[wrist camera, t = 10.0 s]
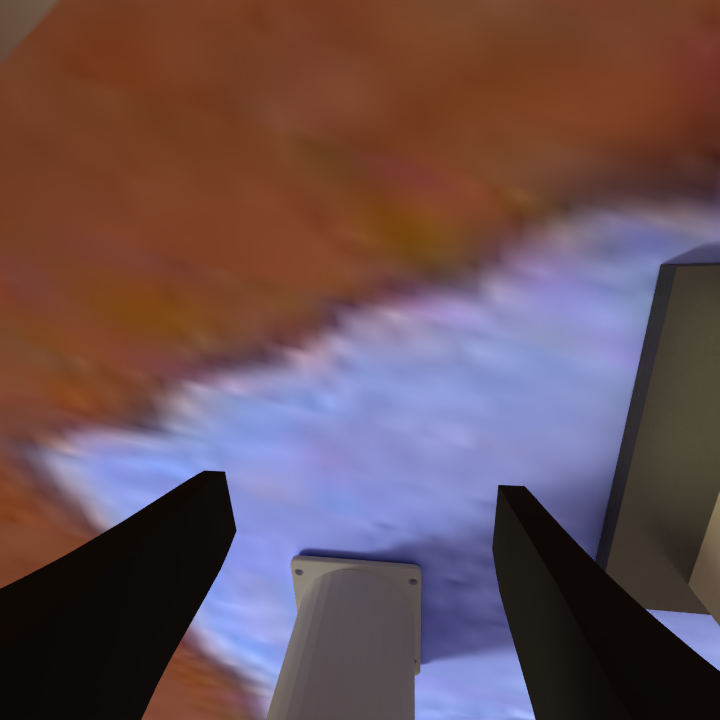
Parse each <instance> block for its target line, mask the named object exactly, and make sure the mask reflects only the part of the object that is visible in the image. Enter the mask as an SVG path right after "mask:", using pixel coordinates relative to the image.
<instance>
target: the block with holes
mask: <svg viewBox="0 0 720 720" xmlns="http://www.w3.org/2000/svg"><path fill="white" fill-rule="evenodd" d="M688 585H689V587H690V588H691V589H692V591H693V592H694V593H695V595H696V596H697V597H698V599H699V600H700V601H701V602H702V604H703V605H704V606H705V608H706V609H707V610H708V612H709V613H710V614H711V616H712V617H713V618H714V619H715V621H716V622H717V623H718V625H719V626H720V492H719V495H718V498H717V501H716V504H715V507H714V510H713V513H712V516H711V519H710V522H709V525H708V528H707V531H706V534H705V536H704V539H703V542H702V545H701V548H700V551H699V554H698V557H697V560H696V563H695V566H694V569H693V572H692V575H691V578H690V581H689V584H688Z"/></svg>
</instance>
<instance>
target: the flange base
mask: <svg viewBox="0 0 720 720" xmlns="http://www.w3.org/2000/svg"><path fill="white" fill-rule="evenodd" d="M719 492H720V263H691V264H661V266H660V271H659V275H658V280H657V284H656V289H655V294H654V298H653V303H652V307H651V312H650V316H649V321H648V325H647V330H646V335H645V339H644V344H643V348H642V353H641V357H640V362H639V366H638V371H637V375H636V380H635V385H634V389H633V394H632V398H631V403H630V407H629V412H628V416H627V421H626V426H625V430H624V435H623V439H622V444H621V448H620V453H619V457H618V462H617V466H616V471H615V476H614V480H613V485H612V489H611V494H610V498H609V503H608V507H607V512H606V517H605V521H604V526H603V530H602V535H601V539H600V544H599V548H598V553H597V558H596V563H597V564H598V565H599V566H600V567H601V568H602V569H603V570H604V571H605V572H606V573H607V574H608V575H609V576H610V577H611V578H612V579H613V580H614V581H615V582H616V583H617V584H618V585H620V586H621V587H622V588H623V589H624V590H625V591H626V592H627V593H628V594H629V595H630V596H631V597H632V598H633V599H635V600H636V601H637V602H638V603H639V604H640V605H641V606H642V607H643V608H644V609H652V610H663V611H674V612H685V613H697V614H708V615H711V614H710V613H709V612H708V610H707V609H706V608H705V606H704V605H703V604H702V602H701V601H700V600H699V599H698V597H697V596H696V595H695V593H694V592H693V591H692V589H691V588H690V587H689V585H688V584H689V581H690V578H691V575H692V572H693V569H694V566H695V563H696V560H697V557H698V554H699V551H700V548H701V545H702V542H703V539H704V536H705V534H706V531H707V528H708V525H709V522H710V519H711V516H712V513H713V510H714V507H715V504H716V501H717V498H718V495H719Z"/></svg>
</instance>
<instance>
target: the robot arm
mask: <svg viewBox="0 0 720 720" xmlns="http://www.w3.org/2000/svg"><path fill="white" fill-rule="evenodd" d="M235 533H236V526H235V521H234V516H233V511H232V506H231V501H230V495H229V490H228V485H227V480H226V475H225V472H221V471H203V472H201V473H199V474H197V475H196V476H194V477H192V478H190V479H189V480H187V481H186V482H184V483H182V484H181V485H179V486H178V487H176V488H175V489H173V490H171V491H170V492H168V493H167V494H165V495H164V496H162V497H160V498H159V499H157V500H156V501H154V502H153V503H151V504H150V505H148V506H146V507H145V508H143V509H142V510H140V511H139V512H137V513H135V514H134V515H132V516H131V517H129V518H128V519H126V520H124V521H123V522H121V523H119V524H118V525H116V526H114V527H113V528H111V529H109V530H108V531H106V532H104V533H103V534H101V535H99V536H98V537H96V538H94V539H93V540H91V541H89V542H87V543H86V544H84V545H82V546H81V547H79V548H77V549H76V550H74V551H72V552H70V553H68V554H67V555H65V556H63V557H61V558H59V559H58V560H56V561H54V562H52V563H50V564H48V565H46V566H44V567H42V568H41V569H39V570H37V571H35V572H33V573H31V574H29V575H27V576H25V577H23V578H21V579H19V580H17V581H15V582H13V583H11V584H9V585H7V586H5V587H3V588H1V589H0V720H141V719H142V717H143V714H144V712H145V710H146V708H147V706H148V704H149V701H150V699H151V697H152V695H153V693H154V691H155V688H156V686H157V684H158V682H159V680H160V678H161V676H162V674H163V672H164V671H165V669H166V667H167V665H168V663H169V661H170V659H171V657H172V655H173V654H174V652H175V650H176V648H177V647H178V645H179V643H180V641H181V639H182V638H183V636H184V634H185V632H186V631H187V629H188V627H189V625H190V623H191V622H192V620H193V618H194V616H195V615H196V613H197V611H198V609H199V607H200V606H201V604H202V602H203V600H204V599H205V597H206V595H207V593H208V591H209V590H210V588H211V586H212V584H213V582H214V580H215V579H216V577H217V575H218V573H219V571H220V569H221V567H222V565H223V563H224V560H225V558H226V556H227V553H228V551H229V549H230V546H231V543H232V541H233V538H234V536H235ZM492 550H493V556H494V562H495V568H496V574H497V580H498V585H499V591H500V595H501V599H502V602H503V606H504V609H505V613H506V616H507V620H508V624H509V627H510V631H511V634H512V638H513V641H514V645H515V648H516V651H517V655H518V658H519V662H520V665H521V669H522V672H523V676H524V679H525V683H526V686H527V690H528V693H529V697H530V700H531V704H532V707H533V711H534V715H535V719H536V720H720V671H719V670H717V669H716V668H715V667H714V666H712V665H711V664H710V663H709V662H707V661H706V660H705V659H704V658H702V657H701V656H700V655H699V654H697V653H696V652H695V651H694V650H693V649H691V648H690V647H689V646H688V645H687V644H685V643H684V642H683V641H682V640H681V639H680V638H678V637H677V636H676V635H675V634H674V633H672V632H671V631H670V630H669V629H668V628H666V627H665V626H664V625H663V624H662V623H661V622H659V621H658V620H657V619H656V618H655V617H654V616H652V615H651V614H650V613H649V612H648V611H647V610H646V609H644V608H643V607H642V606H641V605H640V604H639V603H638V602H637V601H636V600H635V599H633V598H632V597H631V596H630V595H629V594H628V593H627V592H626V591H625V590H624V589H623V588H622V587H621V586H620V585H618V584H617V583H616V582H615V581H614V580H613V579H612V578H611V577H610V576H609V575H608V574H607V573H606V572H605V571H604V570H603V569H602V568H601V567H600V566H599V565H598V564H597V563H596V562H595V561H594V560H593V559H592V558H591V557H590V556H589V555H588V554H587V553H586V552H585V551H584V550H583V549H582V548H581V547H580V546H579V545H578V544H577V543H576V542H575V541H574V540H573V539H572V537H571V536H570V535H569V534H568V533H567V532H566V531H565V530H564V529H563V528H562V527H561V526H560V525H559V523H558V522H557V521H556V520H555V519H554V518H553V517H552V516H551V515H550V514H549V513H548V511H547V510H546V509H545V508H544V507H543V506H542V505H541V504H540V503H539V501H538V500H537V499H536V498H535V497H534V496H533V495H532V494H531V493H530V491H529V490H528V489H527V488H526V487H525V486H509V485H498V496H497V506H496V516H495V527H494V537H493V547H492ZM300 569H301V570H300ZM291 571H292V578H293V585H294V592H295V599H296V606H297V613H298V614H297V618H296V621H295V624H294V628H293V631H292V634H291V638H290V641H289V644H288V648H287V651H286V655H285V658H284V661H283V665H282V668H281V671H280V675H279V678H278V681H277V685H276V688H275V691H274V695H273V698H272V701H271V705H270V708H269V712H268V715H267V718H266V720H415V676H416V675H418V674H419V673H420V650H421V580H422V573H421V569H420V567H419V566H417V565H414V564H403V563H391V562H378V561H366V560H353V559H341V558H328V557H316V556H303V555H296V556H294V557H293V558H292V561H291Z"/></svg>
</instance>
